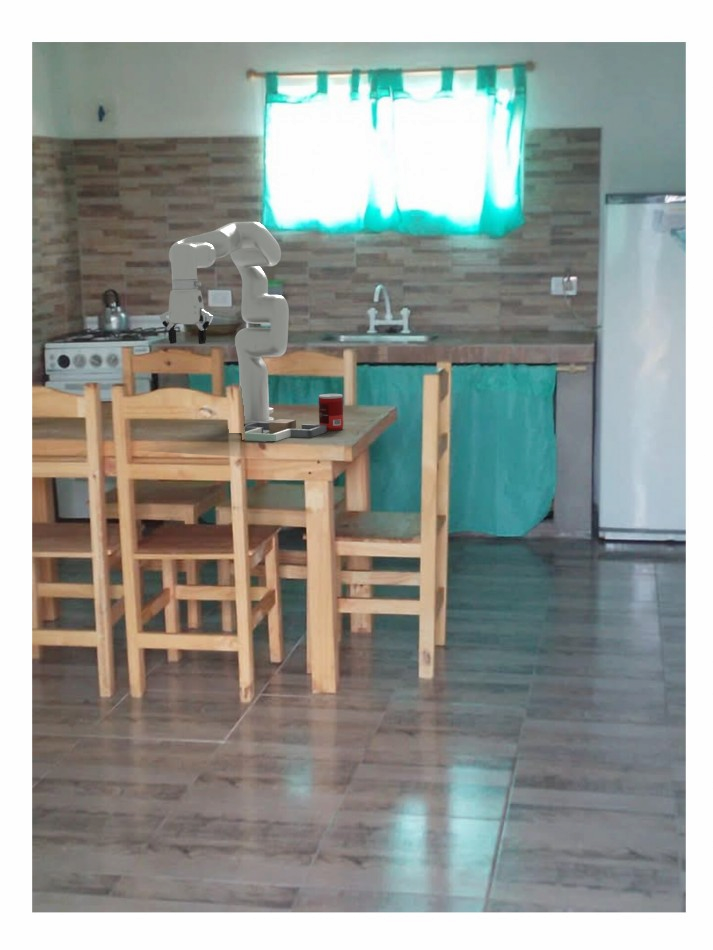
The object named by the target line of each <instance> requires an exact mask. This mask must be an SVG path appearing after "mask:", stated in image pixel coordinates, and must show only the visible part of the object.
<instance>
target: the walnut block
mask: <svg viewBox="0 0 713 950" xmlns="http://www.w3.org/2000/svg"><path fill="white" fill-rule="evenodd" d="M286 429H297V420H296V419H285V418H284V419H283V418H282V419H280V418H279V419H276V420H275V419H274V421H272V422H269V433H268V434H274V433H277V432H280V431H283V430H286Z"/></svg>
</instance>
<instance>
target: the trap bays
mask: <svg viewBox="0 0 713 950" xmlns="http://www.w3.org/2000/svg"><path fill="white" fill-rule="evenodd" d="M244 425H245V431H249V430H252V429H256V428H262V433H263V434H269V422H254V423H251V424H244ZM327 432H328V431H327V425H319V424H311V423H308V424H307V423H301V428H296V429H291V436H290V437H293V438H294V437H297V438H313V437H316V436H320V435H321V434H324V433H327Z"/></svg>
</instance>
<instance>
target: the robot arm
mask: <svg viewBox="0 0 713 950" xmlns="http://www.w3.org/2000/svg"><path fill="white" fill-rule="evenodd" d="M228 255H230V258H231V260H232V262H233V264H234V265H235V267H236V268H237V270H238V273H239V274H240V277H241V286H242V287H241V305H240V306H241V307H240V309H241V318H242V320H243V321H244V322H245V323H247V324H248V323H249V324H255V325H256V324H262V325H263V324H264V325H266V324H267V325H270V327H245V328H242V329H240V330H239V331H237V332H236V335H235V337H234V345H235V349H236V354H237V361H238V373H239V374H238V377H239V379H238V380H239V387H240V386H241V388H242V398H243V405H244V416H245V424H244V425H247V424H251V423H254V422H272V421H275V418H274V417H272V416H270V414H273V413H274V408H273V407H270V403H269V402H270V401H269V399H270V397H269V396H270V395H269V372H268V371H269V370H268V367H267V365H266V362H265V361H264V359H263V358H266V357H267V358H276V357H277V358H278V357H282V356H283V355H284V354H285V353H286V351H287V348H288V347H287V346H288V337H289V316H290V309H289V304H288V300H287V299H286V298H285V297H284V296H282V295H279V294H269V292H268V291H269V289H268V288H269V281H268V277H267V275H266V273H265V272H264V270H263V269H262V267H274V266H276V265H277V264H278V263H279V262H280V261H281V257H282V250H281V246H280V245H279V242H278V241H277V240H276V238H275V237H274V236H273V235H272V233H271V232H270V231H269V230H268V229H267V228H266V227H265V226H264V225H263V224H261V223H260V222H257V221H234V222H230V223H227V224H225V225H223V226H221V227H219V228H217V229H215V230H213V231H208V232H204V233H200V234H197V235H193V236H189V237H185V238H182V239H180V240H178V241H176V242H174V243H173V244H172V245H171V246H170V248H169V252H168V259H169V262H170V267H171V269H170V270H171V289H172V290H170V293H169V300H168V310H167V311H165V312H163V313H161V314H160V315H159V319H160V321H161V322H162V324H163V326H164V327H165V328H166V331H167V332H168V341H169V344H171V345H172V344H176V343H177V330H176V329H175V328H176V326H177V325H196V326H197V328H198V329H199V330H198V331H197V333H198V334H197V335H198V344H199V345H203V344H204V345H205V344H206V341H207V329H208V328H209V327H210V326H211V325H212V322H213V319H214V315H213V314H212V313H209V312H208V311H207V310H205V305H204V299H203V294H202V291H201V289H199V287H202V282H201V281H199V279H198V269H200V268H201V269H203V268H205V269H206V268H209V267H211V266H213V265H214V263H215V262H216V260H217V259H221V258H224V257H226V256H228ZM167 317H168V318H167ZM168 319H169V321H168Z"/></svg>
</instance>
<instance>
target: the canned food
mask: <svg viewBox="0 0 713 950" xmlns="http://www.w3.org/2000/svg"><path fill="white" fill-rule="evenodd" d="M343 398H344V396H343V394H341V393H325V394H324V393H323V394H319V395H318V420H319V421H318V425H327V432H334V431H340V430H343V429H344V399H343Z"/></svg>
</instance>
